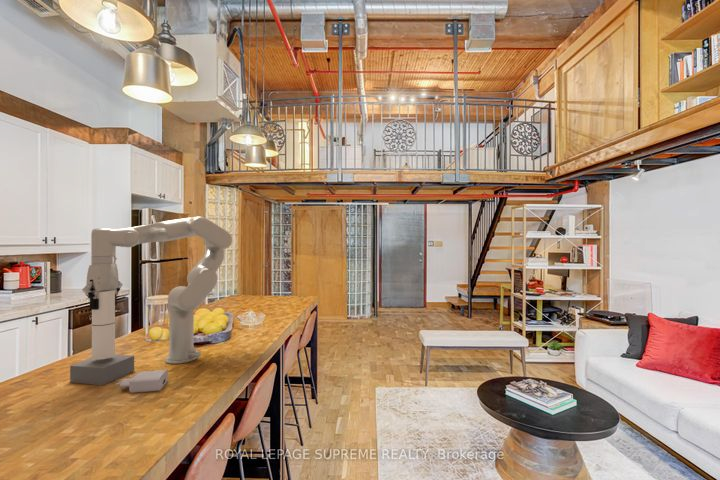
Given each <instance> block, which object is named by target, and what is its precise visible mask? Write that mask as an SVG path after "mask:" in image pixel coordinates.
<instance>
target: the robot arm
mask: <svg viewBox="0 0 720 480" xmlns="http://www.w3.org/2000/svg"><path fill="white" fill-rule="evenodd" d="M90 236H91V237H90V238H91V239H90V242H91V243H90V244H91V245H90V247H91V249H90V251H91V252H90V253H91V254H90V256H91V258H90V259H91V260H90V261H91V263H90V264H89V266H88V268H87V273H86V283H85V284H86V285H85V286H84V287H83V288H82V292H83V293H84V294H85V296H87V299H88V300H89V310H91V311H92V310H98V309H99V299H97V297H98V295H99V292H100V291H107V290H115V307H116V306H117V305H118V304H117V302H118V301H117V300H118V299H117V297H118V295H119V292H120V291H121V288H122V286H123V283H122V282H121V281H119V271H118V270H119V269H118V264H117V262H116V261H117V260H118V259H117V257H116V255H117V253H116V250H117V249H116V247H119V248H134V247H135V246H137V245H140V244H141V245H142V244H147V243H155V242H156V243H163V242H169V241H177V240H181V239H186V238H191V237H199V238H201V239H203V240H204V241H203V242H204V245H205V253H204V255H203V256H202V258H201V259H200V260H199V261H198V262H197V263H196V265H194V267H193V268H192V269H191V270H190V271H189V272H188V274H187V276H186V282H187V286H184V285H182V286H181V285H179V286H176V287H174V288H172V289H171V290H170V291H169V293H168V296H167V307H168V316H169V317H168V318H169V320H168V323H169V324H168V325H169V327H168V332H169V333H168V341H169V343H168V356H166V357H164V362H165V363H167V364H170V365H172V364H173V365H176V364H185V363H189V362H192V361H194V360H197V359H198V358H200V357H201V353H202V351H201V350H197V348H196V347H194V344H195V341H194V339H195V337H194V335H195V333H194V331H195V330H194V326H195V322H194V321H195V320H194V319H195V316H194V310H197V308H199V307H200V305H202V303H203V302H204V301H205V300H206V299H207V297H208V296H209V295H210V294H211V292H212V291H213V289H215V287H216V286H217V283H218V275H217V273H216V272H217V271H218V270H219V269H220V267H221V265H222V264H223V261H224V258H225V249H228V248H229V247H231V245H232V242H233V237H232V235H231V234H230V232H229V231H228V230H226V229H224V228H222V227H221V226H219V225H218V224H216V223H215V222H213V221H212V220H210V219H208V218H206V217H203V216H191V217H184V218H177V219H170V220H165V221H163V220H162V221H158V222H153V223H149V224H145V225H137V226H132V227H125V228H107V227H105V228H102V227H101V228H100V227H99V228H98V227H95V228H93V229H92V230H91V235H90ZM93 292H95V294H93Z"/></svg>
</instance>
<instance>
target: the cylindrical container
mask: <svg viewBox="0 0 720 480" xmlns="http://www.w3.org/2000/svg"><path fill="white" fill-rule="evenodd" d="M93 294H95V292H93ZM97 299H99V309H98V310H91V358H92V359H94V360H100V359H107V358H111V357H113V356H115V355H116V318H115V317H116V306H115V290H107V291H100V292H99V295H98V297H97Z"/></svg>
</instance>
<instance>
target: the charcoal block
mask: <svg viewBox="0 0 720 480" xmlns="http://www.w3.org/2000/svg"><path fill="white" fill-rule="evenodd" d="M69 370H70V371H69V382H70V383H76V384H85V385H86V384H88V385H99V386H104V385H106V384H108V383H111V382H113V381H115V380H117V379H119V378H122V377H124V376H126V375H129V374H131V373H133V372H135V355H125V354H115V356H113V357H111V358H107V359H100V360H94V359H92V357H91V358H88V359H85V360H82V361H80V362H77V363H74V364H72V365H69Z"/></svg>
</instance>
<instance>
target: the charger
mask: <svg viewBox="0 0 720 480" xmlns="http://www.w3.org/2000/svg"><path fill="white" fill-rule="evenodd" d="M168 373H169V371H168V369H162V370H161V369H160V370H148V371H147V370H144V371H140V372H138V373H136V374H134V376H133V377H130V378H128V377H127V378H123V380H122V381H117V382H116V383H115V384H114V385H115V386H116V385H117V386H119V387H120V388H128V389H129V390H128V391H129V392H130V393H131V394H136V393H145V392H146V393H148V392H160V391H161V390H162V389H163V387H164V386H165V385H166V384H167V382H168V380H169V377H168V376H169V374H168Z"/></svg>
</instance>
